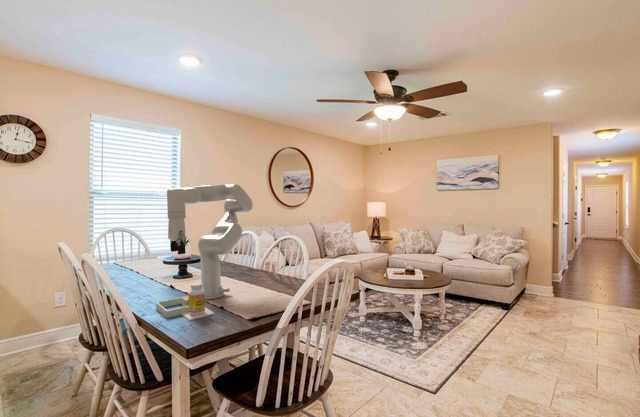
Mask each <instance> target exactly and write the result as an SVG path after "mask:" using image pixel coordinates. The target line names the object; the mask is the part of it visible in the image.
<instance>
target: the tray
mask: <svg viewBox="0 0 640 417" xmlns="http://www.w3.org/2000/svg"><path fill="white" fill-rule="evenodd" d="M188 296H189V295H186V296H181V297H176V298H171V299H166V300H162V301H158V302H155V309H156V310H157V312H160V314H162V316H164V317H165V318H166V319H170V318H174V317H179V316H181V314H182V313H186V312H189V306H186V307H182V306H181V307H178V308H174V309H170V310H169V309H166V308H167V307H172V306H177V305H182V298H183V297H188Z"/></svg>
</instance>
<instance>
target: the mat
mask: <svg viewBox="0 0 640 417" xmlns="http://www.w3.org/2000/svg"><path fill="white" fill-rule="evenodd" d="M181 315H182V317H184V318H185V319H186V320H188V321H194V320H196V319H201V318H206V317H209V316H212V315H215V312H214V311H212V310H210V309H209V308H207V307H205V312H204V313H202V314H199V315H191V314H190V313H189V312H186V313H182V314H181ZM181 315H180V316H181Z"/></svg>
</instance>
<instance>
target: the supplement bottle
mask: <svg viewBox="0 0 640 417" xmlns="http://www.w3.org/2000/svg"><path fill="white" fill-rule="evenodd" d="M190 288H191V289H190V290H189V291H188V296H189V313H190V314H191V315H199V314H202V313H204V312H205V308H206V299H205V291H204V289H202V283H201V282H193V283H191V284H190Z"/></svg>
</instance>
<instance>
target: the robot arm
mask: <svg viewBox="0 0 640 417" xmlns="http://www.w3.org/2000/svg"><path fill="white" fill-rule="evenodd" d="M166 199H167V200H166V205H167V220H168V223H167V224H168V227H167V236H168V237H167V238H168V240H169V242H170V244H169V245H170V252H177V255H184V254H186V223H185V219H186V216H187V215H186V204H188V205H191V204H192V205H194V204H198V203H212V202H216V201H224V202H223V203H224V204H223V207H224V208H223V210H224V215H223V217H222V218H221V219H220V221H218V223H217V224H216V225H215V226H214V227H213V229H212V231H211V234H209V235H207V234H206V235H203V236H202V237H200V238H199V240H198V244H197V245H198V247H197V249H198V251H199V256H200V258H199V259H200V274H201V276H200V278H201V279H200V280H201V282H200V283H202V289H204V291H205V300H214V299H219V298H222V297H224V295H225V293H229V292H230V291H231V290H230V287H224V286H223V285H222V284H221V260H220V257H219V255H221V256H222V255H223V256H224V255H228V254H229V253H230V252H231V251H232V250H233V249H234V247H236V245H237V243H238V242H239V241H240V239H241V238H242V235H243V229H242V228H243V227H242V226H241V225H240V224H239V220H238V217H237V214H236V213H248V212H250V211H252V208H253V206H254V205H253V200H252V199H251V197H250V195H248V193H247V192H246V191H245V190H244V188H242V187H241V185H239V184H237V183H224V184H223V183H220V184H209V185H208V184H207V185H199V186H190V187H189V186H188V187H179V188H178V187H173V188H172V187H171V188H168V189H167V190H166Z"/></svg>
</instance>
